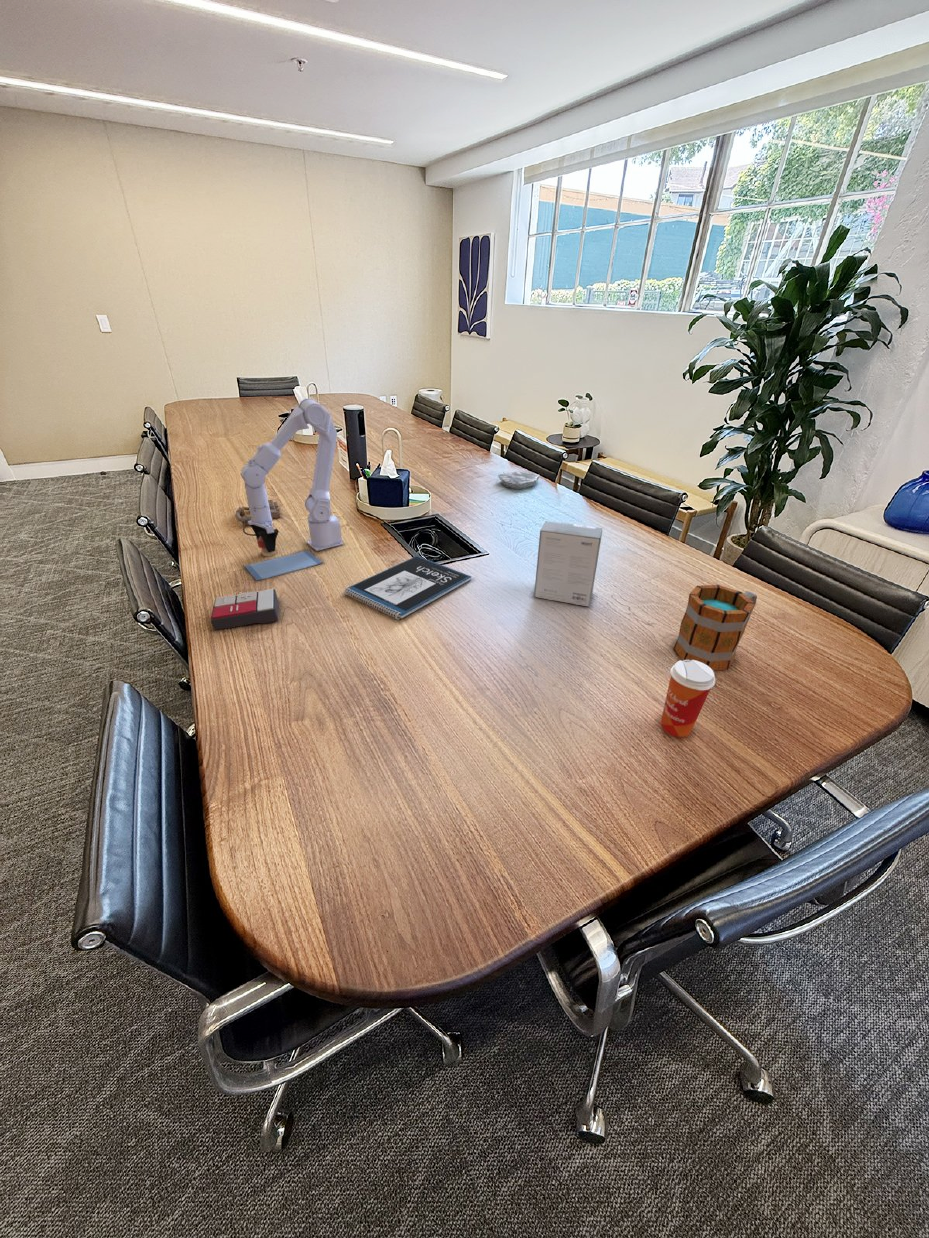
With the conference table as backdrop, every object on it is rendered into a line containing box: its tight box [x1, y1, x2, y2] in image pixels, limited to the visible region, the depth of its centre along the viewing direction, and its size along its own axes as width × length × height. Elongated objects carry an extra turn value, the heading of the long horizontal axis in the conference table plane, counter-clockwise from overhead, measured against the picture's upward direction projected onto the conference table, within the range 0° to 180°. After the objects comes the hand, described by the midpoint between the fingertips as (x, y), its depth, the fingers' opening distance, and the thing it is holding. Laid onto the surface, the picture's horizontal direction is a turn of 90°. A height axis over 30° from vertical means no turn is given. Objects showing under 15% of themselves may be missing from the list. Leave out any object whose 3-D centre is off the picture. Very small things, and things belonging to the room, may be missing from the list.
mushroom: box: [256, 536, 275, 557], centre depth 160 cm, size 5×5×7 cm
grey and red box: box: [210, 588, 279, 631], centre depth 130 cm, size 11×4×15 cm
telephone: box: [235, 499, 281, 537], centre depth 183 cm, size 15×33×4 cm, turn 23°
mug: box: [672, 584, 758, 671], centre depth 118 cm, size 20×14×15 cm
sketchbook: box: [343, 555, 472, 621], centre depth 144 cm, size 22×30×2 cm
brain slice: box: [497, 470, 541, 490], centre depth 227 cm, size 20×17×3 cm
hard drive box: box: [533, 520, 604, 607], centre depth 137 cm, size 16×8×20 cm, turn 71°
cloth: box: [244, 549, 323, 582], centre depth 155 cm, size 20×11×1 cm, turn 127°
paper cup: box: [660, 659, 716, 738], centre depth 96 cm, size 8×8×14 cm
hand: (267, 547), depth 160 cm, fingers open, 7 cm apart
